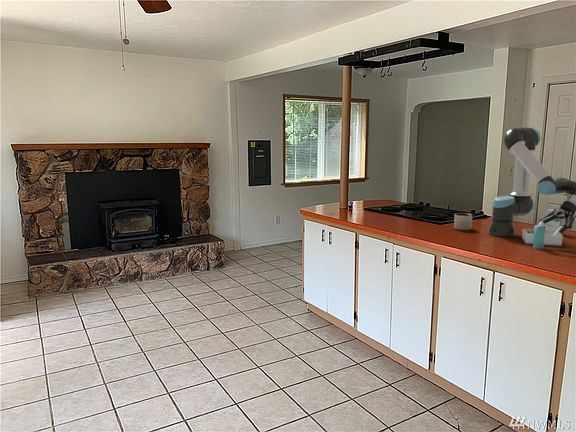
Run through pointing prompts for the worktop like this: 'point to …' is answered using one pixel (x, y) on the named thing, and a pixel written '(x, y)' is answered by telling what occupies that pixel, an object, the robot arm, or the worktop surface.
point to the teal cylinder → (538, 237)
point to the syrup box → (553, 223)
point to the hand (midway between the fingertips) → (544, 234)
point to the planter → (463, 221)
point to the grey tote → (548, 237)
